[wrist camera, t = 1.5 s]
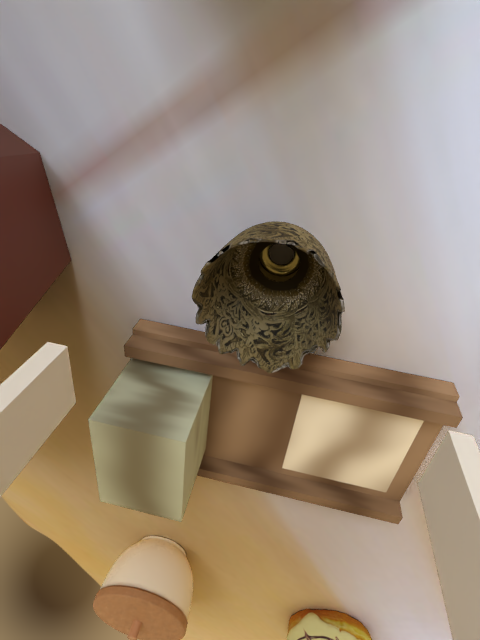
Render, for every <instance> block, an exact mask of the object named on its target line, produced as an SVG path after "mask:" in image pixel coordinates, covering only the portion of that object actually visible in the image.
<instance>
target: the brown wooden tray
mask: <svg viewBox="0 0 480 640" xmlns="http://www.w3.org/2000/svg"><path fill="white" fill-rule="evenodd" d="M124 351H125V357H130V358H131V360H130V361H129V362H128V364H127V365H126V367H125V368H124V370H123V371H122V372H121V374H120V375H119V377H118V378H117V379H116V381H115V382H114V384H113V385H112V387H111V388H110V389H109V391H108V392H107V394H106V395H105V396H104V398H103V399H102V401H101V402H100V403H99V405H98V406H97V408H96V409H95V411H94V412H93V413H92V415H91V416H90V418H89V419H88V422H89V429H90V436H91V443H92V450H93V457H94V463H95V470H96V477H97V484H98V491H99V498H100V501H101V502H105V503H109V504H113V505H117V506H120V507H124V508H128V509H132V510H136V511H140V512H144V513H148V514H152V515H156V516H159V517H163V518H167V519H171V520H175V521H179V522H182V519H183V516H184V513H185V510H186V507H187V504H188V501H189V498H190V495H191V491H192V488H193V485H194V482H195V479H196V476H197V475H198V476H202V477H206V478H210V479H214V480H218V481H222V482H226V483H231V484H235V485H239V486H243V487H247V488H251V489H255V490H259V491H263V492H268V493H272V494H276V495H280V496H284V497H288V498H292V499H296V500H301V501H305V502H309V503H313V504H317V505H321V506H325V507H329V508H333V509H338V510H342V511H346V512H350V513H354V514H358V515H362V516H366V517H371V518H375V519H379V520H383V521H387V522H391V523H395V524H399V522H400V521H401V519H402V513H401V507H400V500H401V498H402V496H403V495H404V493H405V491H406V489H407V488H408V486H409V484H410V482H411V481H412V479H413V477H414V475H415V474H416V472H417V470H418V468H419V467H420V465H421V463H422V461H423V460H424V458H425V456H426V454H427V453H428V451H429V449H430V447H431V446H432V444H433V442H434V440H435V439H436V437H437V435H438V433H439V432H440V430H441V428H442V427H443V425H446V426H451V427H455V428H457V426H458V425H459V423H460V421H461V420H462V418H463V417H462V415H461V412H460V410H459V407H458V405H457V400H458V399H459V395H458V392H457V390H456V388H455V385H454V383H452V382H447V381H442V380H437V379H432V378H427V377H422V376H417V375H412V374H407V373H403V372H398V371H393V370H388V369H383V368H378V367H373V366H368V365H363V364H359V363H354V362H349V361H344V360H339V359H334V358H329V357H324V356H319V355H314V354H310V353H307V354H305V355H304V357H303V360H302V365H301V366H300V367H299V368H298V369H290V368H289V367H285V368H283V369H280V370H278V371H277V372H274V373H267V372H266V371H264V370H262V369H260V368H258V366H257V364H256V363H254V362H252V361H249V362H248V363H247V364H246V365H244V366H241V365H240V363H239V360H238V359H237V352H236V351H235V352H233V353H226V354H219V351H218V347H217V346H216V344H214V345H213V344H211V343H209V342H208V341H207V339H206V336H205V332H202V331H197V330H192V329H187V328H182V327H177V326H173V325H168V324H163V323H158V322H153V321H148V320H143V319H140V320H139V321H138V323H137V324H136V325H135V327H134V328H133V335H132V336H131V337H130V339H129V340H128V341H127V343H126V344H125V345H124Z"/></svg>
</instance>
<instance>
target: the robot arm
mask: <svg viewBox="0 0 480 640" xmlns="http://www.w3.org/2000/svg"><path fill="white" fill-rule="evenodd" d="M75 403H76V398H75V392H74V385H73V379H72V372H71V366H70V359H69V353H68V346H64V345H60V344H55V343H51V342H47V343H46V344H45V345H44V346H43V347H41V348H40V349H39V350H38V351H37V352H36V353H35V354H34V355H33V356H31V357H30V358H29V359H28V360H27V361H26V362H25V363H24V364H23V365H22V366H20V367H19V368H18V369H17V370H16V371H15V372H14V373H13V374H12V375H10V376H9V377H8V378H7V379H6V380H5V381H4V382H3V383H2V384H1V385H0V497H1V496H2V495H3V493H4V492H5V491H6V490H7V488H8V487H9V486H10V485H11V483H12V482H13V481H14V480H15V478H16V477H17V476H18V475H19V473H20V472H21V471H22V470H23V468H24V467H25V466H26V465H27V463H28V462H29V461H30V460H31V458H32V457H33V456H34V455H35V453H36V452H37V451H38V450H39V448H40V447H41V446H42V445H43V443H44V442H45V441H46V440H47V438H48V437H49V436H50V435H51V433H52V432H53V431H54V430H55V428H56V427H57V426H58V425H59V423H60V422H61V421H62V420H63V418H64V417H65V416H66V415H67V413H68V412H69V411H70V410H71V408H72V407H73V406H74V405H75ZM418 487H419V491H420V496H421V500H422V505H423V509H424V514H425V518H426V522H427V527H428V531H429V536H430V540H431V545H432V549H433V554H434V558H435V562H436V567H437V571H438V576H439V580H440V585H441V589H442V594H443V598H444V602H445V607H446V611H447V616H448V620H449V625H450V629H451V634H452V638H453V640H480V451H479V448H478V446H477V443H476V441H475V439H474V436H473V435H468V434H464V433H459V432H454V431H450V430H448V432H447V434H446V435H445V437H444V439H443V440H442V442H441V444H440V446H439V447H438V449H437V451H436V453H435V454H434V456H433V458H432V459H431V461H430V463H429V465H428V466H427V468H426V470H425V472H424V473H423V475H422V477H421V478H420V480H419V482H418Z"/></svg>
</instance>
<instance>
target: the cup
mask: <svg viewBox="0 0 480 640" xmlns="http://www.w3.org/2000/svg"><path fill="white" fill-rule="evenodd" d="M273 244H284V245H287V246H289V247H291V248H292V249H293V251H294V256H293V259H292V260H291V262H289V263H288V264H286V265H278V264H275V263H274V262H273V261H272V260H271V259H270V256H269V250H270V248H271V246H272V245H273ZM340 290H341V289H340V286H339V283H338V281H337V278H336V275H335V272H334V269H333V266H332V263H331V261H330V258H329V256H328V254H327V252H326V251H325V249H324V248H323V246H322V245H321V244H320V242H319V241H318V240H317V239H316V238H315V237H314V236H313V235H312V234H310V233H309V232H308V231H306V230H304V229H303V228H301V227H299V226H296V225H293V224H290V223H286V222H266V223H262V224H258V225H255V226H252V227H250V228H248V229H246V230H245V231H243V232H241V233H240V234H238V235H237V236H236V237H235V238H233V239H232V240H231V241H230V242H229V243H228V244H227V245H225V246H224V247H223V248H222V249H221V250H220V251H219V252H218V253H217V254H216V255H215V256H214V257H213V258H212V259H211V260H209V261H208V262H207V263H206V264H205V266H204V267H203V268H202V270H201V275H200V277H199V279H198V280H197V282H196V284H195V287H194V290H193V294H192V299H193V301H194V303H195V304H197V306H198V307H199V310H198V312H197V314H196V323H197V324H204V323H207V324H206V329H205V336H206V339H207V341H208V342H209V343H211V344H213V345H214V344H216V346H217V347H218V351H219V354H226V353H233V352H235V351H236V352H237V359H238V360H239V363H240V365H241V366H244V365H246V364H247V363H248V362H249V361H252V362H254V363H256V364H257V366H258V368H260V369H262V370H264V371H266V372H267V373H274V372H277V371H278V370H280V369H283V368H285V367H289V368H290V369H298V368H299V367H300V366H301V365H302V360H303V357H304V355H305V354H307V353H314V351H315V350H316V349H317V348H318V347H320V348H322V349H323V352H326V351H327V350H328V348H329V345H330V341H333V340H337V339H338V338H339V336H340V333H341V313H342V312H344V300H343V298H342V295H341V292H340ZM206 320H207V321H206Z"/></svg>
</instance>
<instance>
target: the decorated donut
mask: <svg viewBox="0 0 480 640" xmlns="http://www.w3.org/2000/svg"><path fill="white" fill-rule="evenodd" d="M287 640H372V639H371V637H370V634H369V632H368V631H367V629H366V628H365V627H364V626H363V624H362V623H361V622H359V621H358V620H356V619H354V618H352V617H350V616H349V615H347V614H345V613H342V612H341V613H340V612H338V611H332V610H331V611H330V610H326V609H323V610H318V609H314V610H311V609H305V610H303V611H299V612H297V613H296V614H295V615H292V616H291V618H290V620H289V627H288V635H287Z"/></svg>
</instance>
